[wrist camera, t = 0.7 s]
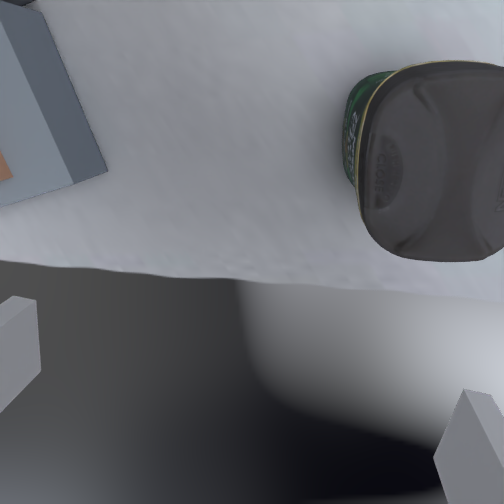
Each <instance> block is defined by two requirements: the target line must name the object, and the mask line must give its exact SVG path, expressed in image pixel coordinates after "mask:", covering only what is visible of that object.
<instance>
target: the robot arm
mask: <svg viewBox="0 0 504 504" xmlns="http://www.w3.org/2000/svg"><path fill="white" fill-rule="evenodd" d="M38 335H39V334H38V321H37V306H36V300H32V299H27V298H22V297H17V296H12V297H11V298H9V299H8V300H6V301H5V302H3V303H2V304H0V413H1V412H2V410H3V409H4V408H5V407H6V406H7V405H8V404H9V403H10V402H11V401H12V400H13V399H14V398H15V397H16V396H17V395H18V394H19V393H20V392H21V391H22V390H23V389H24V388H25V387H26V386H27V385H28V384H29V383H30V382H31V380H32V379H34V378H35V376H36V375H37V374H38V373H39V372H40V371H41V364H40V349H39V336H38ZM433 458H434V461H435V464H436V467H437V470H438V473H439V476H440V479H441V482H442V485H443V488H444V492H445V495H446V498H447V501H448V504H504V417H503V415H502V413H501V412H500V410H499V408H498V406H497V405H496V403H495V402H494V400H493V398H492V396H491V395H490V394H485V393H481V392H475V391H471V390H466V389H464V390H463V392H462V394H461V396H460V398H459V400H458V403H457V405H456V407H455V409H454V412H453V414H452V416H451V419H450V421H449V423H448V425H447V428H446V430H445V432H444V434H443V437H442V439H441V441H440V444H439V446H438V448H437V450H436V453H435V455H434V457H433Z"/></svg>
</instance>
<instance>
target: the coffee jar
mask: <svg viewBox="0 0 504 504" xmlns="http://www.w3.org/2000/svg"><path fill="white" fill-rule="evenodd" d="M342 154H343V165H344V170H345V173H346V175H347V177H348V179H349V180H350V182H351V183H352V184H353V186H354V187H355V190H356V195H357V200H358V206H359V211H360V215H361V218H362V220H363V222H364V224H365V226H366V228H367V230H368V232H369V234H370V235H371V237H372V238H373V239H374V240H375V241H376V242H377V243H378V244H379V245H380V246H381V247H382V248H384V249H385V250H387V251H389V252H390V253H392V254H394V255H397V256H399V257H403V258H408V259H414V260H422V261H435V262H470V261H479V260H483V259H485V258H487V257H489V256H491V255H493V254H495V253H496V252H498V251H499V250H501V249H502V248H503V247H504V67H500V66H497V65H494V64H490V63H486V62H479V61H464V60H446V61H431V62H425V63H419V64H414V65H410V66H407V67H405V68H402V69H400V70H398V71H387V72H381V73H376V74H373V75H370V76H368V77H366V78H364V79H363V80H361V81H360V82H359V83H358V84H357V85H356V86H355V87H354V88H353V90H352V91H351V93H350V95H349V98H348V101H347V105H346V110H345V116H344V123H343V137H342Z"/></svg>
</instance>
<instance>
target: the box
mask: <svg viewBox="0 0 504 504" xmlns="http://www.w3.org/2000/svg"><path fill="white" fill-rule="evenodd" d="M1 1H4V2H7V3H11V4H14V5H18V6H23V5H25V4H28V3H30V2H32V1H34V0H1Z"/></svg>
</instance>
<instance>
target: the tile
mask: <svg viewBox="0 0 504 504" xmlns="http://www.w3.org/2000/svg"><path fill="white" fill-rule="evenodd" d="M12 177H13V175H12V173H11V171H10V169H9V167H8V165H7V163H6V161H5V159H4V157H3V155H2V153H1V151H0V181H3V180H6V179H9V178H12Z"/></svg>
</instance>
